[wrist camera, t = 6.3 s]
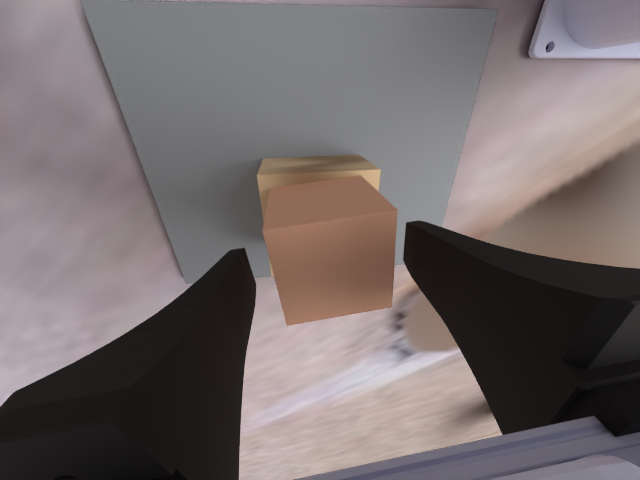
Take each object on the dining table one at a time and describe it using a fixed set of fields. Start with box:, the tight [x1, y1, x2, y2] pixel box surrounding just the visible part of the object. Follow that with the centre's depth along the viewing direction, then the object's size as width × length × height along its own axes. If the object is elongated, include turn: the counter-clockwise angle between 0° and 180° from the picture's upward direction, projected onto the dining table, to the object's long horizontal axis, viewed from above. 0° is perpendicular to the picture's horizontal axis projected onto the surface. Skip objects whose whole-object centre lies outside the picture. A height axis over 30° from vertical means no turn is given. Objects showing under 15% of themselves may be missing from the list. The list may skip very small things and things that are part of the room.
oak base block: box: [257, 155, 381, 277], centre depth 15 cm, size 6×6×4 cm
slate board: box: [80, 0, 498, 284], centre depth 16 cm, size 20×16×1 cm
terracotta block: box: [262, 175, 398, 326], centre depth 11 cm, size 4×4×4 cm
